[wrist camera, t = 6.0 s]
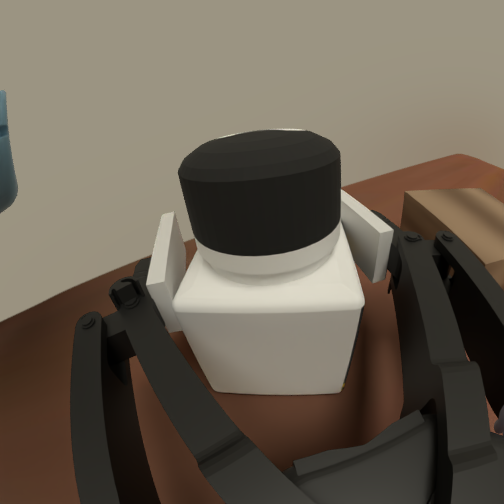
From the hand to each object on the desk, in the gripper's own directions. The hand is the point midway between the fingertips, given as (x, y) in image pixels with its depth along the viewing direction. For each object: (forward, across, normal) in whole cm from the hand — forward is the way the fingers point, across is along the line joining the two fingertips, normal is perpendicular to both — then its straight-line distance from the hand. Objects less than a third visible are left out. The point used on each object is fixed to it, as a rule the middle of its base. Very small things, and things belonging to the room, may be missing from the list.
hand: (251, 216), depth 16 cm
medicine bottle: (-5, 0, -7) cm, 8 cm away
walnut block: (-4, +17, -7) cm, 19 cm away
